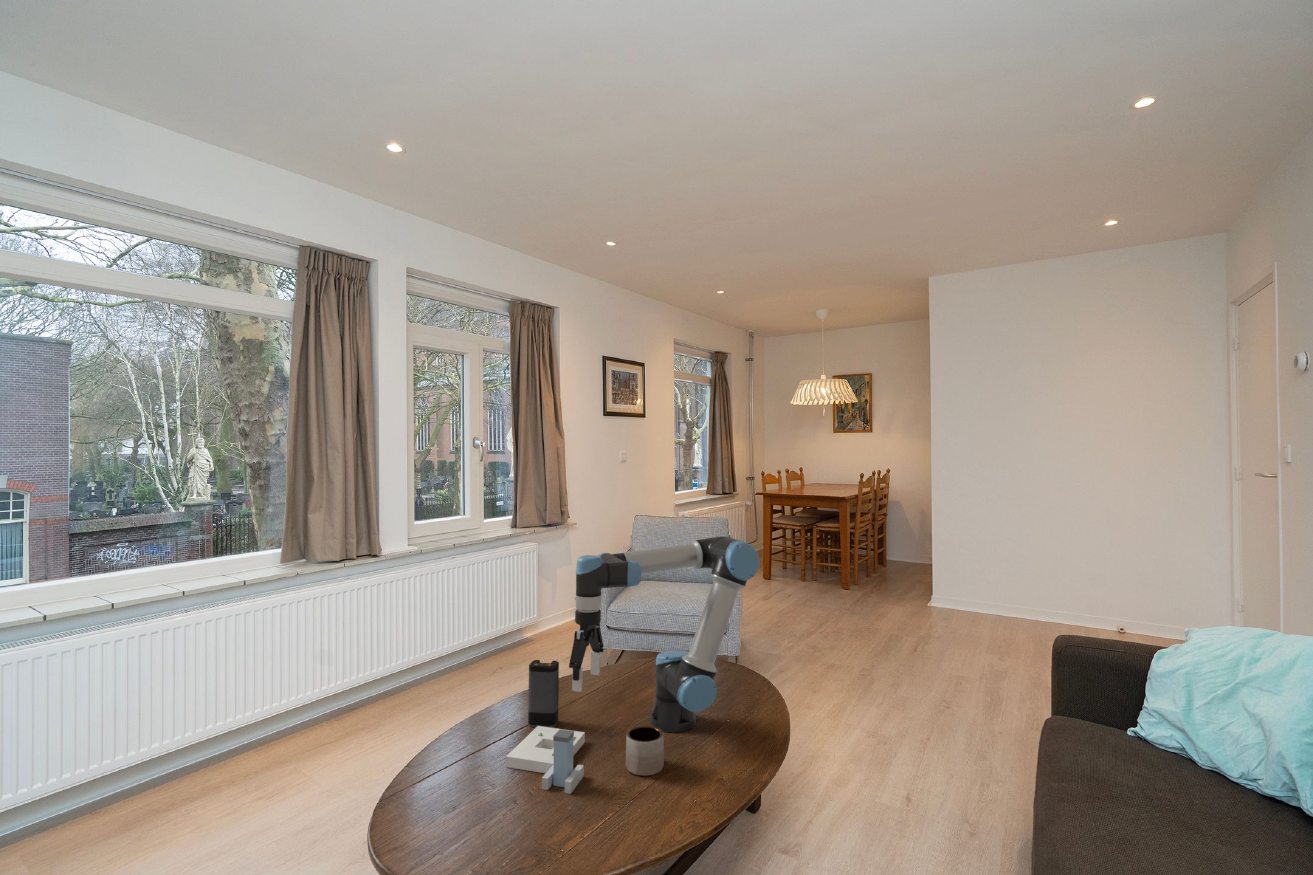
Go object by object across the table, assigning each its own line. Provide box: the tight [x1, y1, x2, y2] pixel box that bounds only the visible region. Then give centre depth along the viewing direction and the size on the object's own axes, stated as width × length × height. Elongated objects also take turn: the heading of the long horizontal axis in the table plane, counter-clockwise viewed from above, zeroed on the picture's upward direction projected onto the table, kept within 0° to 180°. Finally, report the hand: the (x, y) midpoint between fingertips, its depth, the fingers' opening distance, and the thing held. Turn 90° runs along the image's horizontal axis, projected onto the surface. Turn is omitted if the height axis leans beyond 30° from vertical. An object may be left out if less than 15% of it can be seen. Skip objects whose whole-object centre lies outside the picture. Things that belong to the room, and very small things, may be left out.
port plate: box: [505, 726, 586, 774], centre depth 180 cm, size 16×20×3 cm
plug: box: [552, 728, 575, 788], centre depth 164 cm, size 4×4×13 cm
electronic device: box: [527, 659, 560, 728], centre depth 200 cm, size 9×6×20 cm, turn 84°
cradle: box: [541, 764, 585, 795], centre depth 164 cm, size 8×9×3 cm
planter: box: [625, 724, 665, 777], centre depth 173 cm, size 11×11×10 cm
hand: (586, 682), depth 177 cm, fingers open, 13 cm apart
